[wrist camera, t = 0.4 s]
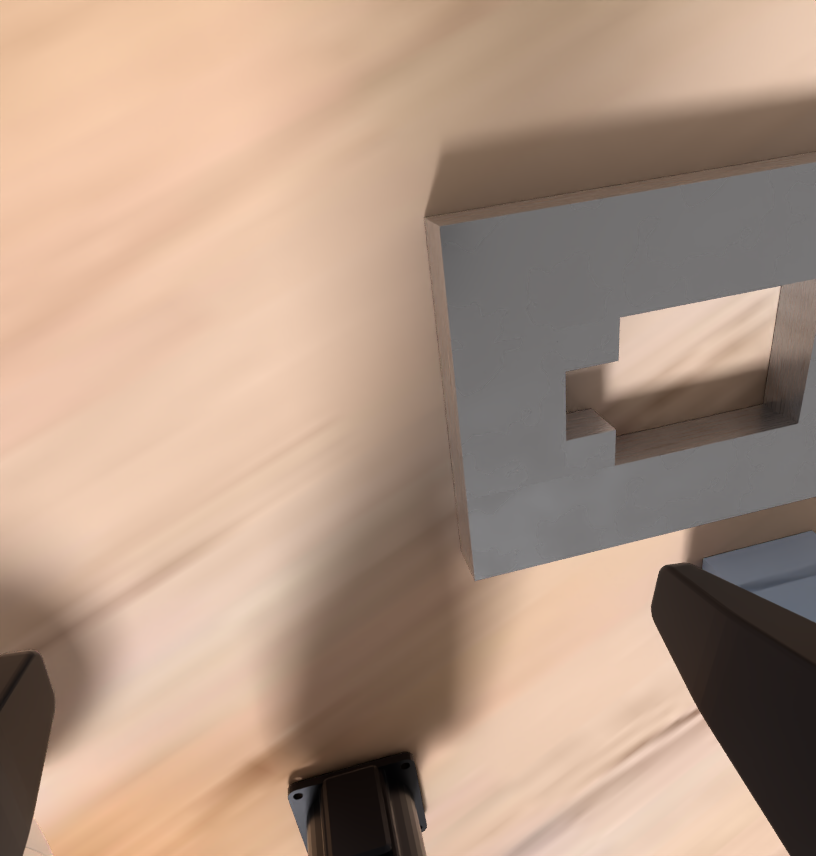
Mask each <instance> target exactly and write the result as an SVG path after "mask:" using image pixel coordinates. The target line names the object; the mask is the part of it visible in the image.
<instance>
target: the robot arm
mask: <svg viewBox="0 0 816 856" xmlns="http://www.w3.org/2000/svg"><path fill="white" fill-rule="evenodd" d="M651 612H652V617H653V620H654V623H655V625H656V627H657V629H658V631H659V633H660V635H661V637H662V639H663V641H664V643H665V645H666V647H667V649H668V651H669V653H670V655H671V657H672V659H673V661H674V662H675V664H676V666H677V668H678V670H679V672H680V674H681V676H682V678H683V680H684V682H685V684H686V686H687V688H688V690H689V692H690V694H691V696H692V698H693V700H694V702H695V703H696V705H697V707H698V709H699V711H700V712H701V714H702V716H703V717H704V719H705V721H706V723H707V724H708V726H709V727H710V729H711V731H712V732H713V734H714V735H715V737H716V739H717V740H718V742H719V743H720V745H721V746H722V748H723V750H724V751H725V753H726V754H727V756H728V758H729V759H730V761H731V762H732V764H733V766H734V767H735V769H736V770H737V772H738V774H739V775H740V777H741V778H742V780H743V781H744V783H745V785H746V786H747V788H748V789H749V791H750V793H751V794H752V796H753V797H754V799H755V801H756V802H757V804H758V805H759V807H760V808H761V810H762V812H763V813H764V815H765V816H766V818H767V820H768V821H769V823H770V824H771V826H772V828H773V829H774V831H775V832H776V834H777V836H778V837H779V839H780V840H781V842H782V843H783V845H784V847H785V848H786V850H787V851H788V853H789V855H790V856H816V623H815V622H813V621H811V620H809V619H807V618H805V617H803V616H801V615H798V614H796V613H794V612H792V611H790V610H788V609H786V608H784V607H781V606H779V605H777V604H775V603H773V602H771V601H769V600H767V599H764V598H762V597H760V596H758V595H756V594H754V593H752V592H750V591H747V590H745V589H743V588H741V587H739V586H737V585H735V584H733V583H730V582H728V581H726V580H724V579H722V578H720V577H718V576H716V575H713V574H711V573H709V572H707V571H705V570H703V569H701V568H699V567H696V566H694V565H692V564H690V563H678V564H670V565H665V566H663V567H662V568H661V570H660V571H659V574H658V578H657V582H656V587H655V591H654V595H653V600H652V604H651ZM54 712H55V695H54V691H53V688H52V685H51V682H50V679H49V676H48V673H47V670H46V667H45V663H44V660H43V658H42V656H41V654H40V653H39V651H37V650H24V651H16V652H9V653H5V654H2V655H0V856H23V854H24V850H25V847H26V843H27V840H28V836H29V833H30V829H31V824H32V820H33V815H34V811H35V806H36V801H37V796H38V791H39V786H40V781H41V776H42V771H43V767H44V762H45V757H46V752H47V747H48V742H49V737H50V732H51V727H52V722H53V717H54ZM288 800H289V803H290V806H291V808H292V811H293V814H294V817H295V819H296V822H297V825H298V828H299V830H300V833H301V836H302V839H303V841H304V844H305V847H306V850H307V853H308V856H426V851H425V847H424V842H423V838H422V833H421V832H423V831H425V829H426V828H427V824H426V819H425V814H424V809H423V803H422V798H421V793H420V788H419V783H418V778H417V773H416V767H415V762H414V758H413V755H412V754H411V753H408V752H405V753H400V754H396V755H393V756H389V757H386V758H382V759H379V760H375V761H371V762H368V763H364V764H361V765H357V766H354V767H350V768H346V769H343V770H339V771H336V772H332V773H328V774H325V775H321V776H318V777H314V778H311V779H307V780H303V781H300V782H296V783H294V784H292V785H290V786H289V788H288Z"/></svg>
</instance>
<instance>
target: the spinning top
mask: <svg viewBox="0 0 816 856" xmlns="http://www.w3.org/2000/svg"><path fill="white" fill-rule="evenodd" d="M23 856H54V855H53V853H52V851H51V848H50V846H49V844H48V842H47V840H46V838H45V836H44V834H43V832H42V830H41V828H40V827H39V825H38V823H37V821H36V820H35V818H34V817H33V820H32V824H31V829H30V833H29V836H28V840H27V843H26V847H25V850H24V854H23Z"/></svg>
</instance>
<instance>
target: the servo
mask: <svg viewBox="0 0 816 856" xmlns="http://www.w3.org/2000/svg"><path fill="white" fill-rule="evenodd" d="M702 569H703V570H705V571H707V572H709V573H711V574H713V575H716V576H718V577H720V578H722V579H724V580H726V581H728V582H730V583H733V584H735V585H737V586H739V587H741V588H743V589H745V590H747V591H750V592H752V593H754V594H756V595H758V596H760V597H762V598H764V599H767V600H769V601H771V602H773V603H775V604H777V605H779V606H781V607H784V608H786V609H788V610H790V611H792V612H794V613H796V614H798V615H801V616H803V617H805V618H807V619H809V620H811V621H813V622H815V623H816V533H815V532H813V531H808V532H804V533H800V534H796V535H792V536H788V537H785V538H781V539H777V540H773V541H769V542H765V543H761V544H757V545H754V546H750V547H746V548H742V549H738V550H734V551H730V552H726V553H723V554H719V555H715V556H711V557H707V558H703V565H702Z"/></svg>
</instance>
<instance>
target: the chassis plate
mask: <svg viewBox="0 0 816 856" xmlns="http://www.w3.org/2000/svg"><path fill="white" fill-rule="evenodd" d="M424 220H425V229H426V238H427V247H428V256H429V266H430V275H431V284H432V293H433V302H434V311H435V320H436V329H437V338H438V347H439V356H440V365H441V374H442V383H443V392H444V401H445V410H446V419H447V428H448V437H449V446H450V456H451V465H452V474H453V483H454V492H455V501H456V510H457V519H458V528H459V537H460V546H461V552H462V554H463V556H464V559H465V561H466V563H467V565H468V567H469V569H470V572H471V574H472V576H473V578H474V580H475V581H477V580H481V579H485V578H489V577H493V576H497V575H501V574H505V573H509V572H513V571H517V570H521V569H525V568H529V567H533V566H537V565H541V564H546V563H550V562H554V561H558V560H562V559H566V558H570V557H574V556H578V555H582V554H586V553H590V552H594V551H598V550H602V549H606V548H610V547H614V546H618V545H622V544H626V543H630V542H634V541H638V540H643V539H647V538H651V537H655V536H659V535H663V534H667V533H671V532H675V531H679V530H683V529H687V528H691V527H695V526H699V525H703V524H707V523H711V522H715V521H719V520H723V519H727V518H731V517H735V516H739V515H744V514H748V513H752V512H756V511H760V510H764V509H768V508H772V507H776V506H780V505H784V504H788V503H792V502H796V501H800V500H804V499H808V498H812V497H816V152H811V153H805V154H799V155H793V156H787V157H781V158H775V159H769V160H763V161H757V162H751V163H745V164H740V165H734V166H728V167H722V168H716V169H710V170H704V171H698V172H692V173H686V174H680V175H674V176H668V177H662V178H656V179H650V180H645V181H639V182H633V183H627V184H621V185H615V186H609V187H603V188H597V189H591V190H585V191H579V192H573V193H567V194H561V195H556V196H550V197H544V198H538V199H532V200H526V201H520V202H514V203H508V204H502V205H496V206H490V207H484V208H478V209H472V210H466V211H461V212H455V213H449V214H443V215H437V216H431V217H425V218H424ZM777 286H781V293H780V299H779V306H778V312H777V318H776V325H775V331H774V338H773V344H772V350H771V357H770V363H769V369H768V376H767V382H766V389H765V395H764V401H763V404H761V405H757V406H752V407H748V408H743V409H739V410H734V411H730V412H725V413H721V414H716V415H712V416H707V417H703V418H698V419H694V420H689V421H685V422H681V423H676V424H672V425H667V426H663V427H658V428H654V429H649V430H645V431H640V432H636V433H631V434H627V435H622V436H618V437H616V429H615V428H613V427H612V426H611V425H610V424H609V423H608V422H606V421H605V420H604V419H603V418H602V417H601V416H599V415H598V414H597V413H596V412H595V411H594V410H593V409H591V408H590V409H586V410H581V411H576V412H572V413H567V414H566V371H571V370H576V369H581V368H586V367H591V366H595V365H600V364H605V363H610V362H615V361H618V356H619V327H620V317H625V316H630V315H635V314H640V313H645V312H650V311H655V310H660V309H665V308H670V307H675V306H680V305H686V304H691V303H696V302H701V301H706V300H711V299H716V298H721V297H726V296H731V295H736V294H741V293H746V292H751V291H756V290H761V289H767V288H772V287H777Z"/></svg>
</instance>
